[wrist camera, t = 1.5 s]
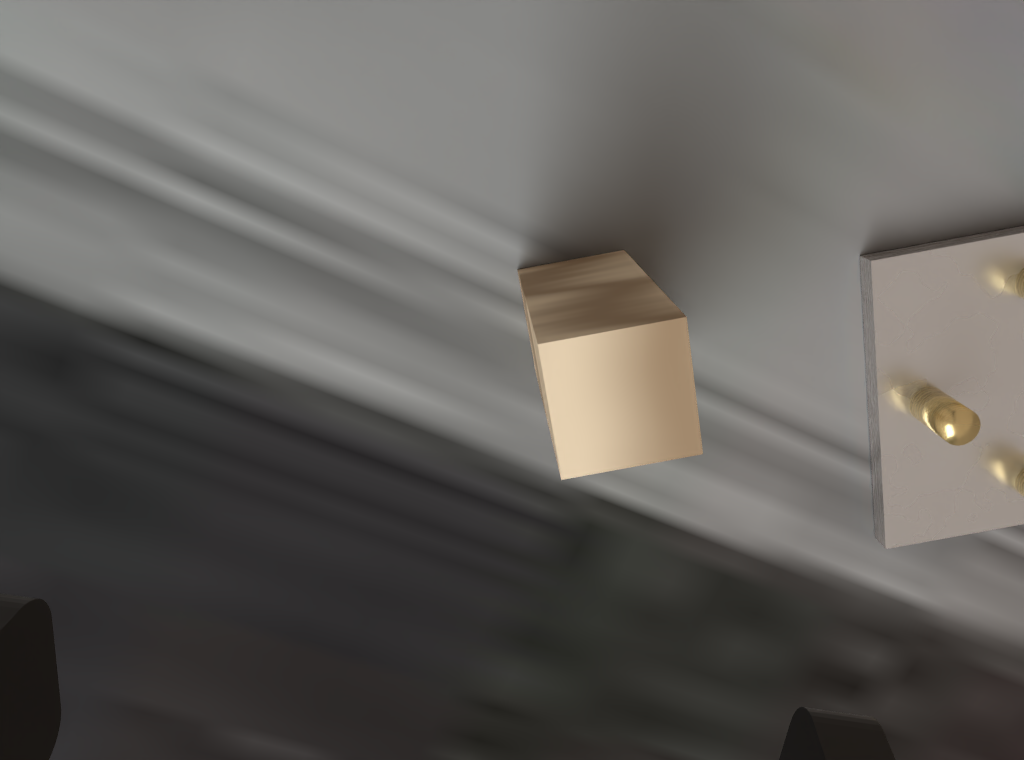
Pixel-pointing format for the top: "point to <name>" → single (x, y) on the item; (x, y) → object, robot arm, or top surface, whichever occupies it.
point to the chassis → (945, 386)
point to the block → (610, 364)
